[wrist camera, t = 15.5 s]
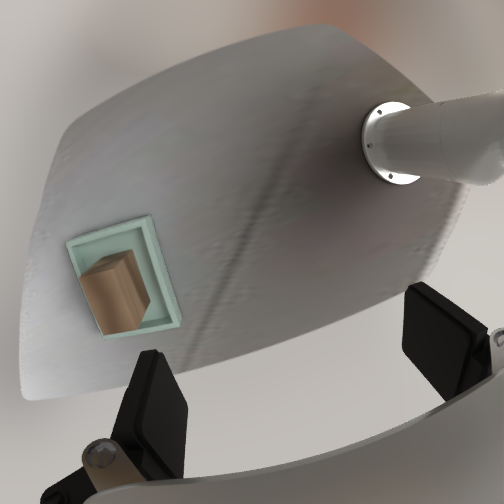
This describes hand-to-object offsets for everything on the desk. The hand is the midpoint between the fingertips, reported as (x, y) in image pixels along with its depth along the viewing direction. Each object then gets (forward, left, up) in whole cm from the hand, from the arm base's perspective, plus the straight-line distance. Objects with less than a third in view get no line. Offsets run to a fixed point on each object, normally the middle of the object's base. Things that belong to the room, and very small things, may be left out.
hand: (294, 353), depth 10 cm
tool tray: (+18, +5, -30) cm, 36 cm away
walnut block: (+18, +5, -30) cm, 35 cm away
